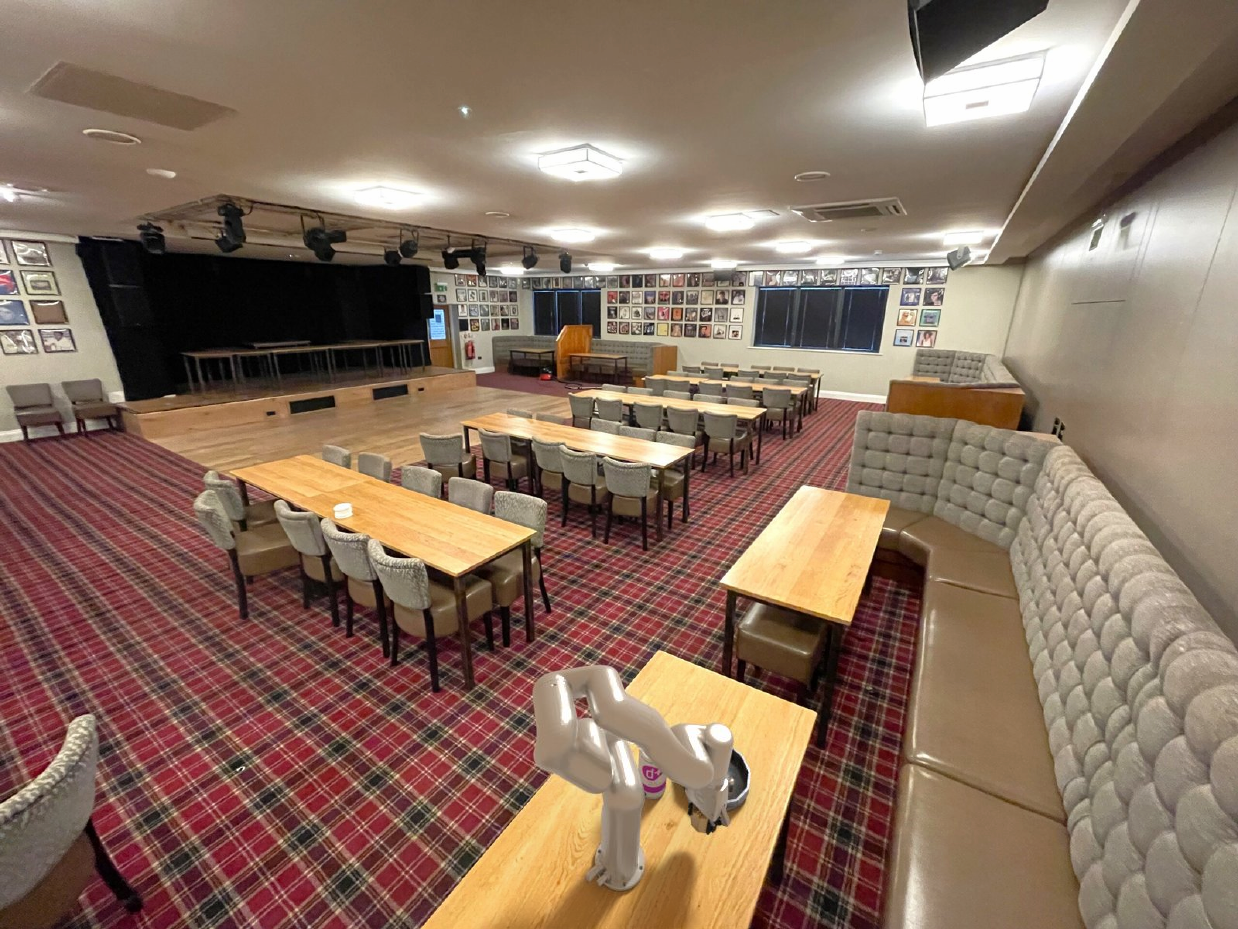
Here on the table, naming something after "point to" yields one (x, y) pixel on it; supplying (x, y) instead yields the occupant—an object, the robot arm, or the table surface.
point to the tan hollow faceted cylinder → (698, 820)
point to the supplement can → (651, 777)
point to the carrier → (737, 780)
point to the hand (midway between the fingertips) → (701, 820)
